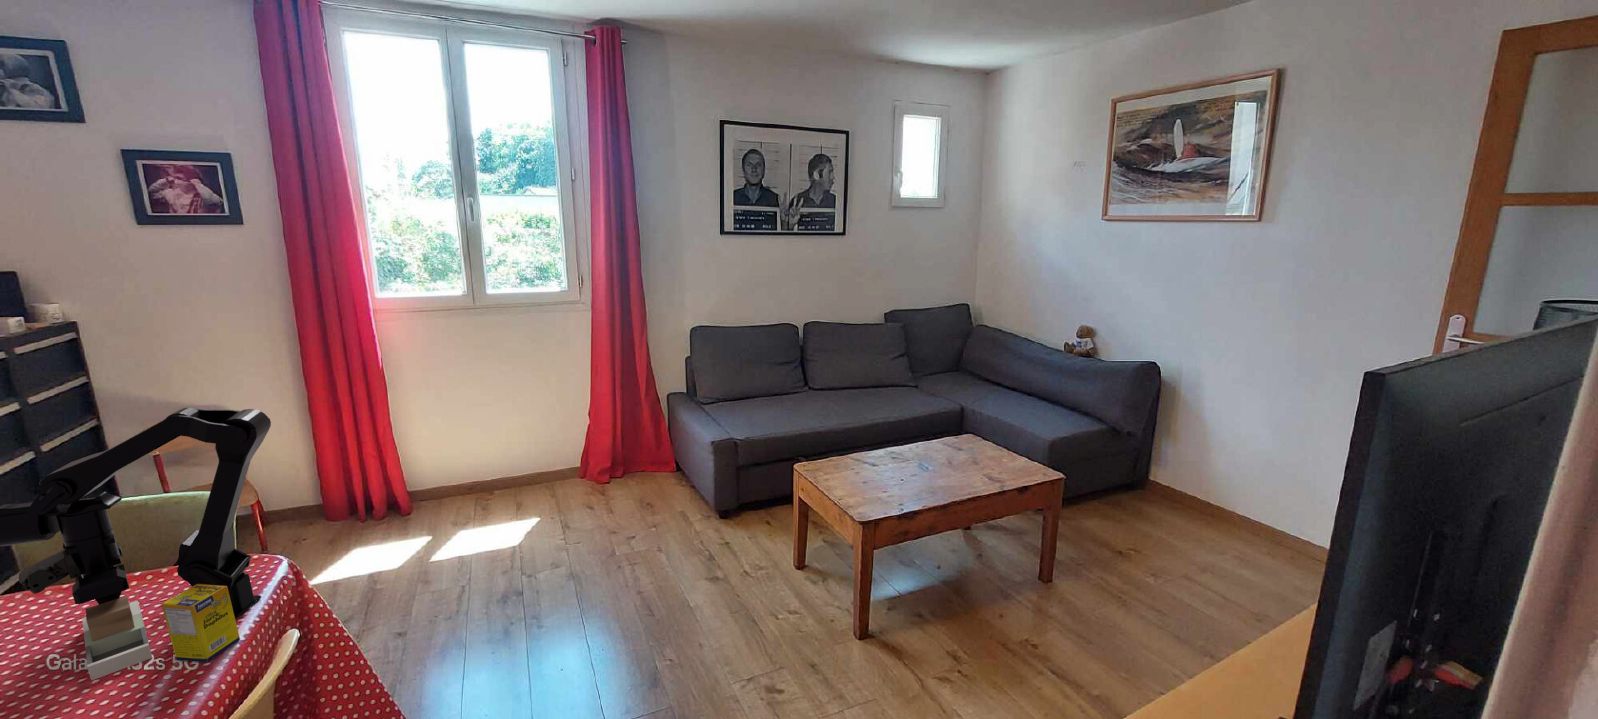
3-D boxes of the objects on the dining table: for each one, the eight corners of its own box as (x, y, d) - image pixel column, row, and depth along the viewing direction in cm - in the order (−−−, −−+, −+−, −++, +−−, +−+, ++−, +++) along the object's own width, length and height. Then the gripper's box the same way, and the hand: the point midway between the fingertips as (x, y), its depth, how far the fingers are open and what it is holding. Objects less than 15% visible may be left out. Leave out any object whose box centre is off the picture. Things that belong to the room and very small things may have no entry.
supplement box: (241, 640, 112) (228, 584, 109) (207, 663, 106) (192, 606, 103) (210, 637, 112) (197, 582, 110) (175, 661, 107) (160, 603, 104)
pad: (87, 644, 111) (83, 631, 110) (144, 624, 116) (140, 612, 115) (89, 659, 107) (85, 646, 106) (147, 638, 112) (144, 626, 111)
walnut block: (91, 628, 111) (85, 608, 110) (132, 615, 114) (126, 595, 113) (92, 641, 107) (86, 620, 107) (134, 627, 111) (129, 607, 110)
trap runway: (84, 622, 116) (81, 610, 116) (139, 604, 122) (135, 592, 121) (91, 680, 102) (87, 667, 102) (152, 657, 107) (148, 644, 107)
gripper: (17, 533, 110) (42, 612, 114) (13, 573, 98) (41, 660, 102) (110, 510, 118) (131, 585, 122) (117, 545, 106) (140, 626, 110)
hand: (110, 612), depth 114 cm, fingers closed
